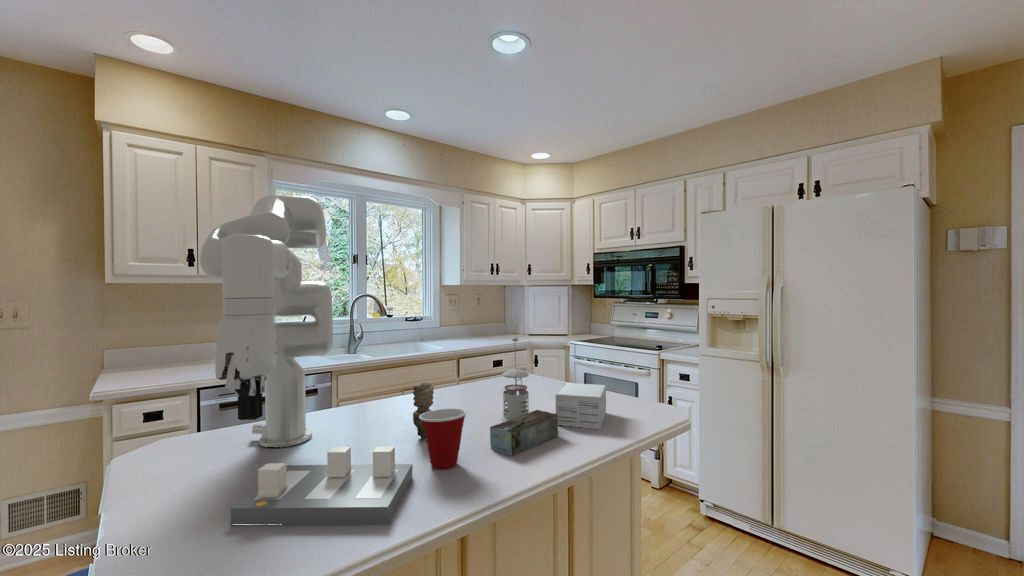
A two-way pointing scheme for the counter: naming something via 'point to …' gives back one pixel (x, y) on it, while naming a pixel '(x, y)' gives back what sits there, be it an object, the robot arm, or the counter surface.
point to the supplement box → (581, 405)
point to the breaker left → (272, 480)
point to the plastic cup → (443, 436)
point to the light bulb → (422, 404)
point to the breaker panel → (327, 498)
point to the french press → (515, 394)
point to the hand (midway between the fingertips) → (250, 418)
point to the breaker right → (383, 461)
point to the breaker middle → (339, 461)
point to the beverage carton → (523, 432)
